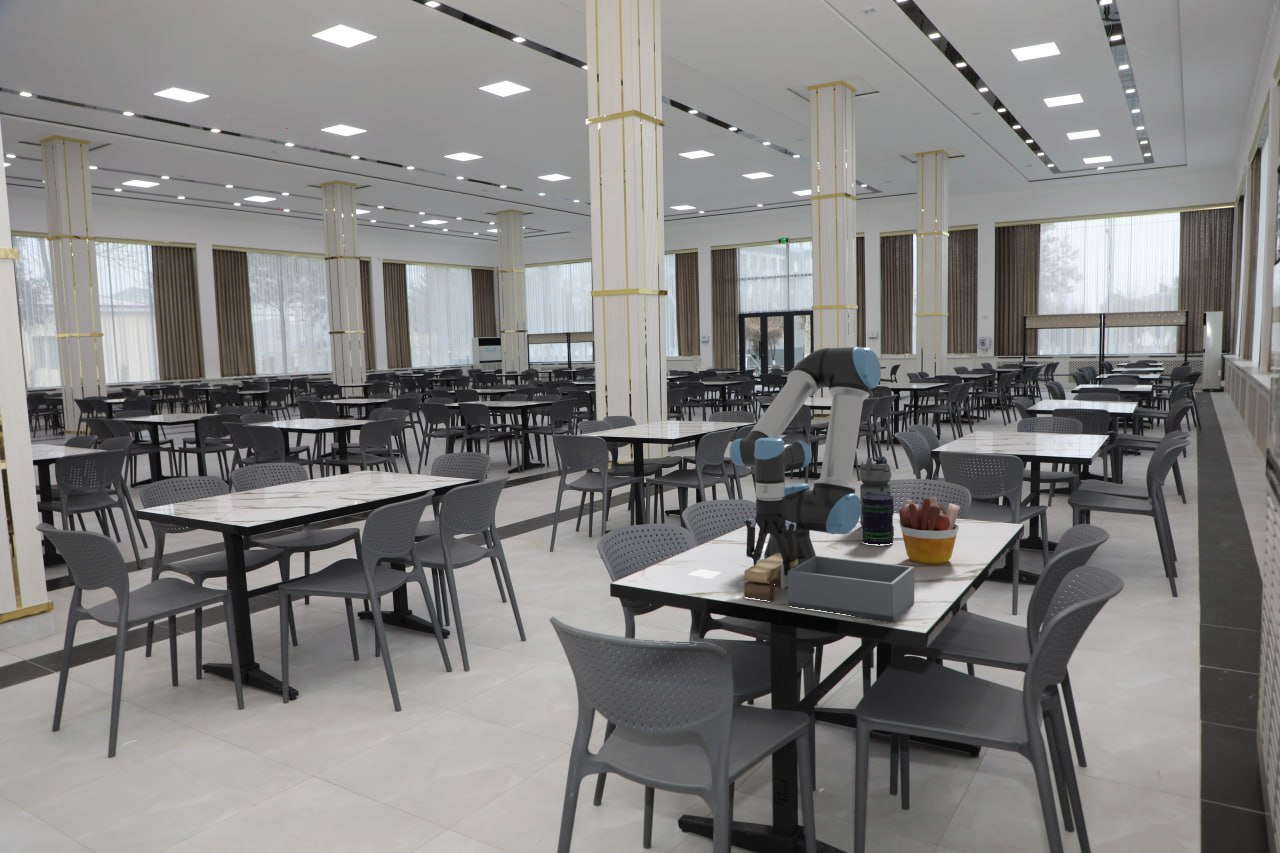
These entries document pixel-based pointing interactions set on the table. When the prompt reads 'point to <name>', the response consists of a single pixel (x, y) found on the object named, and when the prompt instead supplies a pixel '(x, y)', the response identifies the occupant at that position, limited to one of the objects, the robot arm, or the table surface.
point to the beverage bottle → (874, 479)
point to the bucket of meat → (929, 530)
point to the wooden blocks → (761, 589)
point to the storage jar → (877, 519)
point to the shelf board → (766, 569)
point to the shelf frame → (852, 587)
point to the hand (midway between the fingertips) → (772, 585)
